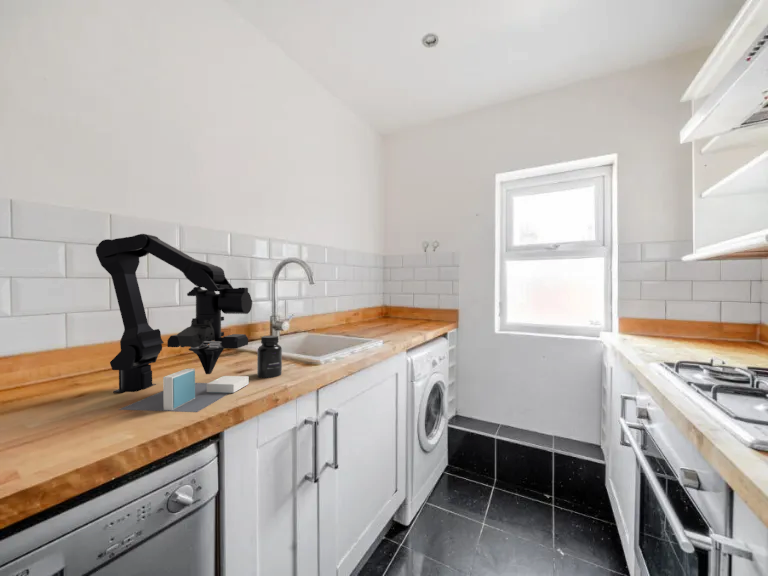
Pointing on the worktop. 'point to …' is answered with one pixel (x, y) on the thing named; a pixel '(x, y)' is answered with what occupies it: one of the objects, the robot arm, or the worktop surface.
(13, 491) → the worktop surface
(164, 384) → the tile near
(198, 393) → the mat
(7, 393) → the worktop surface
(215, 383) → the tile far
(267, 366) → the supplement bottle
